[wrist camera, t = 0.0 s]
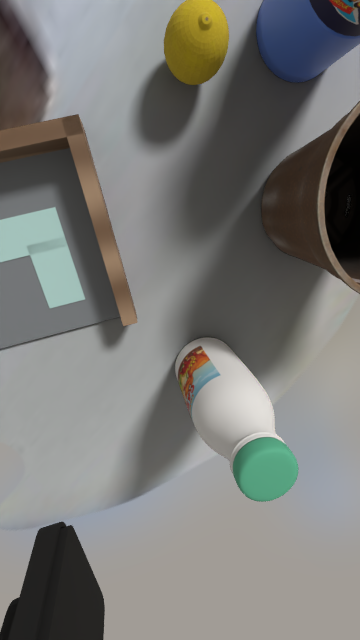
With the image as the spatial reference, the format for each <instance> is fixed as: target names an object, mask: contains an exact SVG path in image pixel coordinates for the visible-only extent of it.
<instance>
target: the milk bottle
mask: <svg viewBox="0 0 360 640" xmlns="http://www.w3.org/2000/svg"><path fill="white" fill-rule="evenodd" d="M175 372H176V377H177V380H178V383H179V386H180V389H181V391H182V394H183V397H184V400H185V403H186V405H187V408H188V411H189V413H190V416H191V419H192V421H193V423H194V425H195V428H196V430H197V432H198V433H199V435H200V436H201V438H202V439H203V440H204V442H205V443H206V444H207V445H208V446H209V447H210V448H211V449H213V450H214V451H215V452H217V453H218V454H220V455H222V456H224V457H225V458H226V459H228V460H229V461H230V468H231V471H232V473H233V475H234V478H235V480H236V483H237V485H238V487H239V488H240V490H241V491H242V493H243V494H244V495H245V496H247V497H248V498H250V499H252V500H255V501H270V500H274V499H276V498H279V497H280V496H282V495H284V494H285V493H286V492H287V491H288V490H289V489H290V488H291V487H292V486H293V484H294V483H295V481H296V479H297V475H298V464H297V461H296V458H295V456H294V455H293V453H292V452H291V450H290V449H289V448H288V447H287V445H286V444H285V443H284V441H283V440H282V439H281V438H280V437H279V436H278V435H276V433H275V420H274V411H273V407H272V404H271V401H270V399H269V397H268V395H267V393H266V391H265V390H264V388H263V387H262V385H261V384H260V383H259V381H258V380H257V379H256V378H255V376H254V375H253V374H252V373H251V372H250V371H249V369H248V368H247V367H246V366H245V365H244V363H243V362H242V361H241V360H240V359H239V358H238V356H237V355H236V354H235V353H234V352H233V351H232V350H231V348H230V347H229V346H228V345H226V344H225V343H224V342H223V341H221V340H219V339H216V338H210V337H206V338H199V339H196V340H194V341H192V342H190V343H189V344H187V345H186V346H185V347H184V348H183V349H182V350H181V352H180V353H179V355H178V357H177V360H176V364H175Z"/></svg>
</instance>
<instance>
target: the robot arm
mask: <svg viewBox="0 0 360 640" xmlns="http://www.w3.org/2000/svg"><path fill="white" fill-rule="evenodd" d="M104 611H105V610H104V599H103V595H102V592H101V590H100V587H99V585H98V583H97V581H96V578H95V576H94V574H93V571H92V569H91V567H90V564H89V562H88V560H87V558H86V555H85V553H84V551H83V548H82V546H81V544H80V542H79V540H78V537H77V535H76V532H75V530H74V528H73V526H71V525H70V526H66V525H65V523H64V522H59V523H56V524H53V525H50V526H46V527H43V528H41V529H39V531H38V533H37V536H36V539H35V543H34V547H33V550H32V554H31V558H30V561H29V565H28V569H27V572H26V576H25V579H24V583H23V587H22V590H21V594H20V597H19V598H17V599H15V600H13V601H12V602H11V604H10V606H9V607H8V610H7V612H6V615H5V618H4V622H3V626H2V628H1V632H0V640H103V633H104Z"/></svg>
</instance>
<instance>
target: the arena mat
mask: <svg viewBox="0 0 360 640" xmlns="http://www.w3.org/2000/svg"><path fill="white" fill-rule="evenodd" d="M117 317H121V316H120V313H119V310H118V306H117V303H116V300H115V296H114V293H113V290H112V286H111V283H110V280H109V276H108V273H107V270H106V266H105V263H104V260H103V256H102V253H101V250H100V246H99V243H98V240H97V236H96V233H95V230H94V226H93V223H92V219H91V216H90V213H89V209H88V206H87V203H86V199H85V196H84V193H83V189H82V186H81V183H80V179H79V176H78V173H77V169H76V166H75V163H74V159H73V156H72V153H71V149H70V148H67V149H62V150H58V151H53V152H48V153H44V154H39V155H34V156H30V157H25V158H21V159H16V160H11V161H7V162H2V163H0V349H1V348H5V347H9V346H12V345H16V344H20V343H24V342H27V341H31V340H35V339H39V338H42V337H46V336H50V335H54V334H57V333H61V332H65V331H69V330H72V329H76V328H80V327H84V326H87V325H91V324H95V323H99V322H102V321H106V320H110V319H114V318H117Z"/></svg>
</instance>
